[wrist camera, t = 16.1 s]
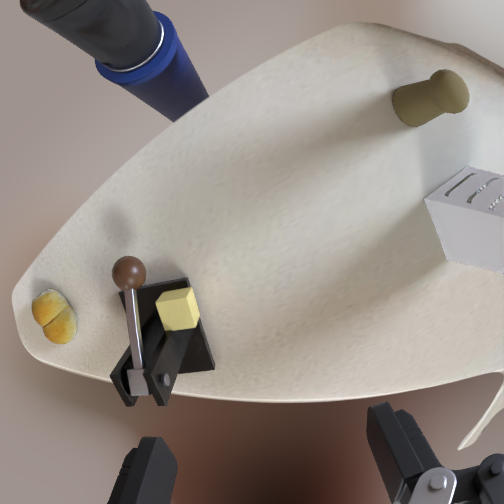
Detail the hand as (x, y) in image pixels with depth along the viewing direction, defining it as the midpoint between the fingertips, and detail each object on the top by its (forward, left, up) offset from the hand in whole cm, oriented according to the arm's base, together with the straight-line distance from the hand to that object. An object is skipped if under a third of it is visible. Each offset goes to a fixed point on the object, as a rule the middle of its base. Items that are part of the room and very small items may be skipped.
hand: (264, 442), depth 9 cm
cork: (-16, +25, -28) cm, 41 cm away
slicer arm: (+4, -14, -21) cm, 25 cm away
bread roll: (+3, -33, -28) cm, 44 cm away
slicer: (+8, -14, -28) cm, 32 cm away
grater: (0, +31, -28) cm, 42 cm away
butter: (+4, -11, -27) cm, 29 cm away
